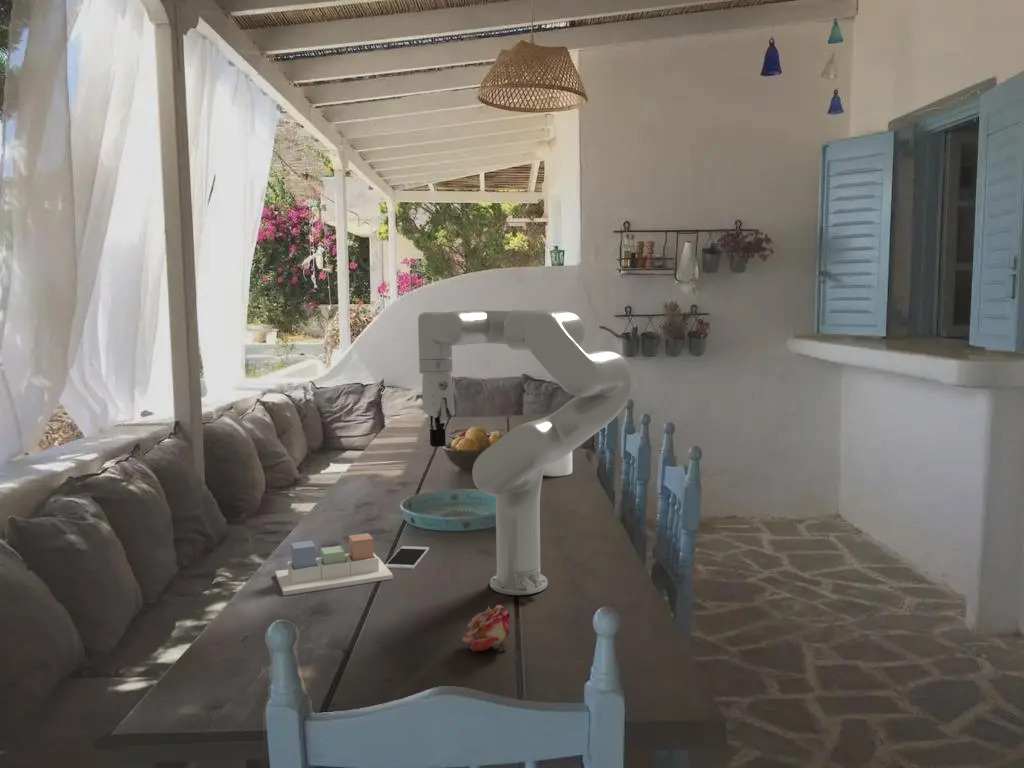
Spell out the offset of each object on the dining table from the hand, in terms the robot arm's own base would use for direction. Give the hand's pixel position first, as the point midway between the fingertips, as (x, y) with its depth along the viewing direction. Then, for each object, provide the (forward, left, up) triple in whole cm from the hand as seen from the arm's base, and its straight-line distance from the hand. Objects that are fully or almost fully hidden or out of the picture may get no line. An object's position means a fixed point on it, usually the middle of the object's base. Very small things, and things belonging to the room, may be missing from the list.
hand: (437, 445), depth 186 cm
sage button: (+5, +24, -28) cm, 37 cm away
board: (+5, +24, -29) cm, 38 cm away
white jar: (+79, -68, -29) cm, 108 cm away
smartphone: (+11, +5, -30) cm, 32 cm away
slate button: (+5, +30, -26) cm, 40 cm away
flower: (-45, +6, -29) cm, 54 cm away
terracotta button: (+5, +17, -26) cm, 31 cm away
